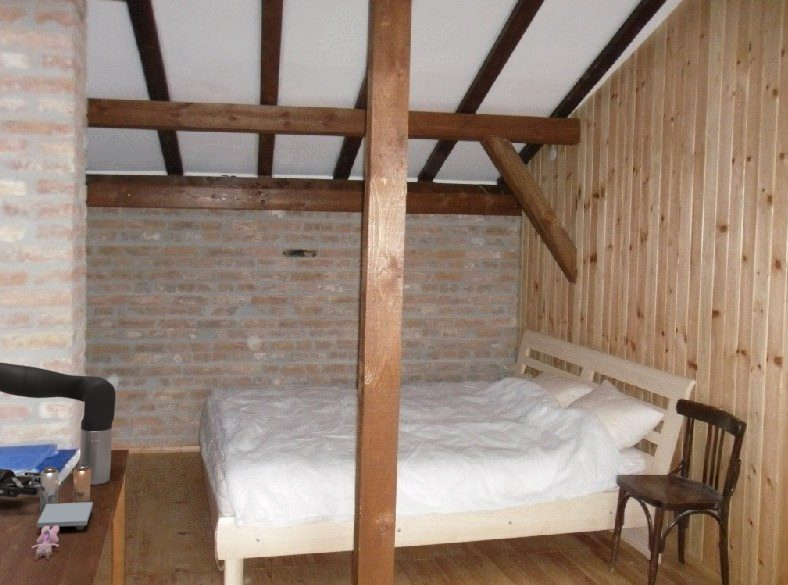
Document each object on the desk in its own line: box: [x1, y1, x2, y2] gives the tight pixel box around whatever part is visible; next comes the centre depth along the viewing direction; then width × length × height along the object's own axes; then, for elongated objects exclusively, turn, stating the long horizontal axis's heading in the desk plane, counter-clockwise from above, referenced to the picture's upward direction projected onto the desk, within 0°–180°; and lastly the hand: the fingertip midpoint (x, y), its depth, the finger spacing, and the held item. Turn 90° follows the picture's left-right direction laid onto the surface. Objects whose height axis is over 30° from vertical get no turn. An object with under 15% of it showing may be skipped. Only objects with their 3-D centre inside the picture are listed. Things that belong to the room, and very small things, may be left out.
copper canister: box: [72, 464, 91, 503], centre depth 209 cm, size 5×5×12 cm
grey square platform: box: [36, 501, 94, 531], centre depth 197 cm, size 14×12×3 cm
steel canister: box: [39, 466, 60, 513], centre depth 206 cm, size 5×5×12 cm
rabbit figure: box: [31, 525, 60, 561], centre depth 181 cm, size 6×6×15 cm
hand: (45, 486), depth 206 cm, fingers open, 8 cm apart
